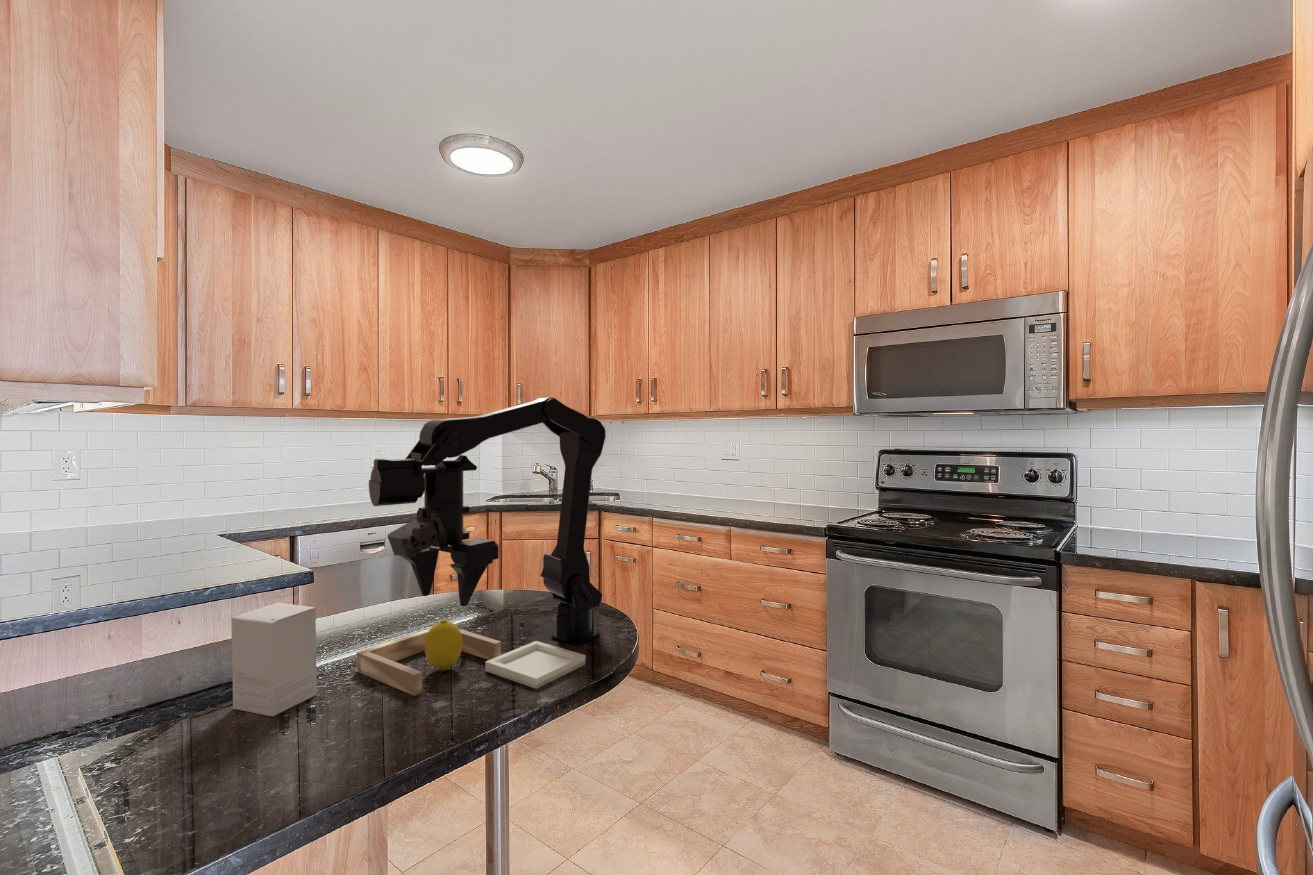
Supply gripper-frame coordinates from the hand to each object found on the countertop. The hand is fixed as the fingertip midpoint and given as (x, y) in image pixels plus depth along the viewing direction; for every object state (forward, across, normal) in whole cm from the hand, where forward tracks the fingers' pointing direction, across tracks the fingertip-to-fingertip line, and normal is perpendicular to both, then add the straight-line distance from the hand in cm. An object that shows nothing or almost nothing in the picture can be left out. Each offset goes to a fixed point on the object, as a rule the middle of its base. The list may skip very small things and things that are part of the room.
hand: (444, 600), depth 96 cm
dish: (+11, +11, +9) cm, 18 cm away
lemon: (+11, 0, 0) cm, 11 cm away
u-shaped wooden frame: (+11, -3, 0) cm, 11 cm away
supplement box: (+11, -10, -20) cm, 25 cm away
